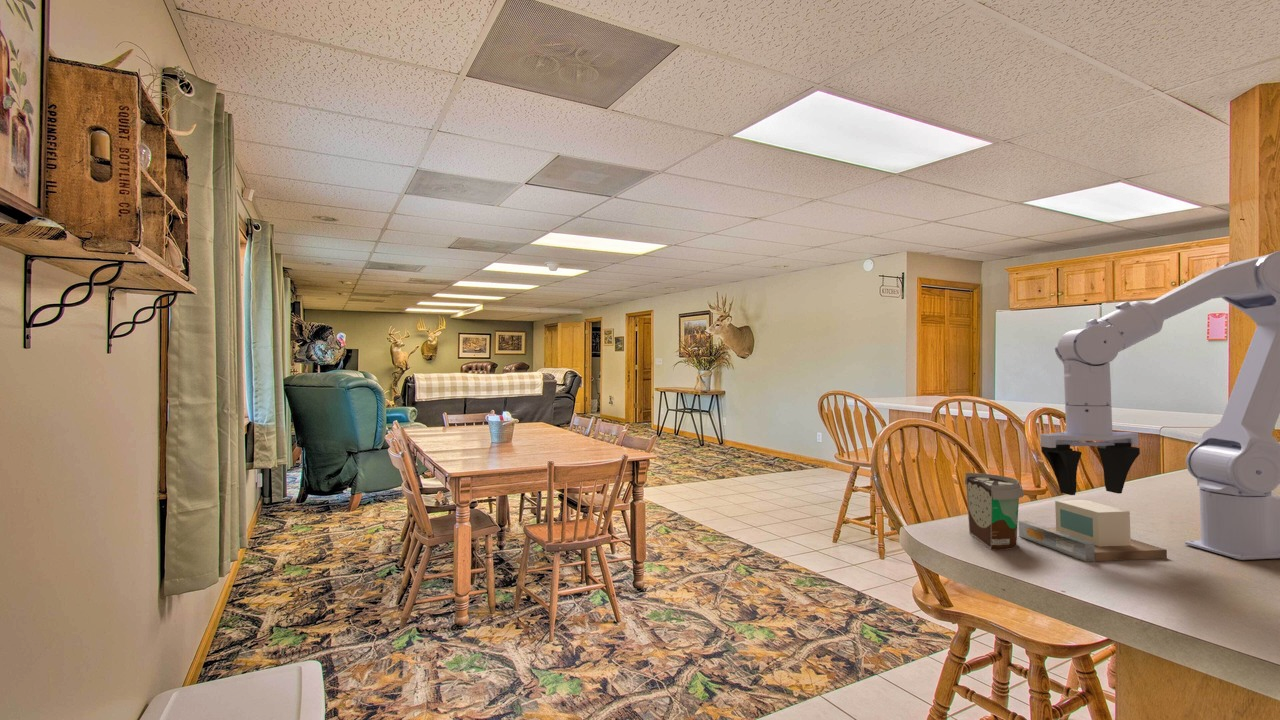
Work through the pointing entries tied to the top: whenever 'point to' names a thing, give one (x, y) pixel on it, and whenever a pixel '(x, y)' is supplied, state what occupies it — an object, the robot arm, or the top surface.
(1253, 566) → the top surface
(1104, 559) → the shelf board
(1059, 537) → the price rail
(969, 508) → the food container
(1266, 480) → the robot arm
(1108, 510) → the carton
